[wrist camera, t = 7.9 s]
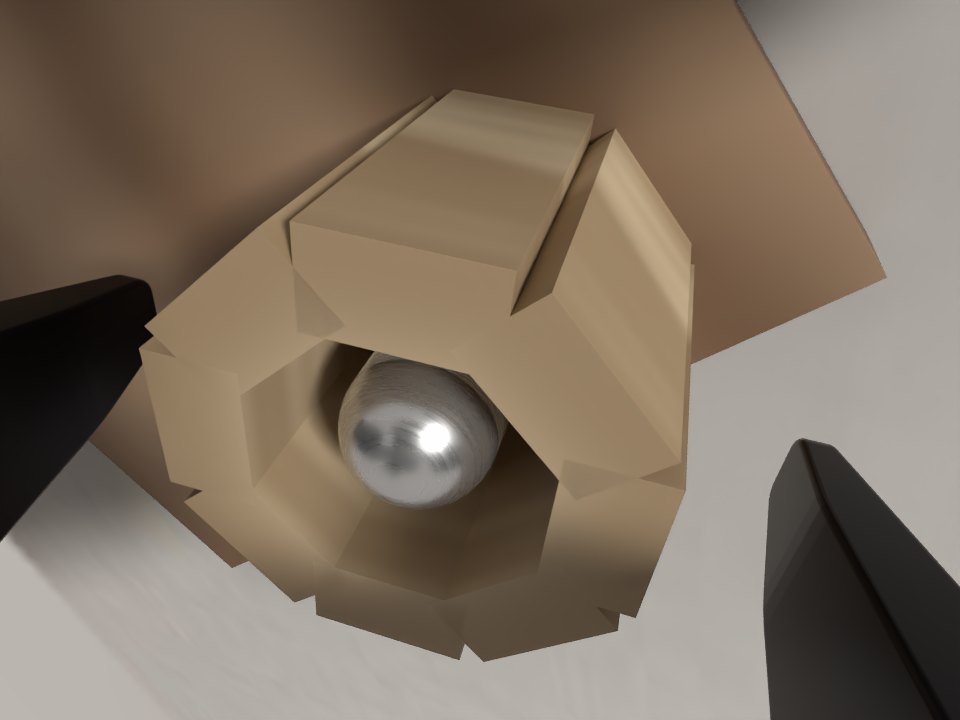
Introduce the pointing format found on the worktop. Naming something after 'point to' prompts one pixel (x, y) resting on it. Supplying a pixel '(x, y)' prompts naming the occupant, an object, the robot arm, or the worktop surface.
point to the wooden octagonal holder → (456, 346)
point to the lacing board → (366, 114)
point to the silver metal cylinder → (417, 432)
